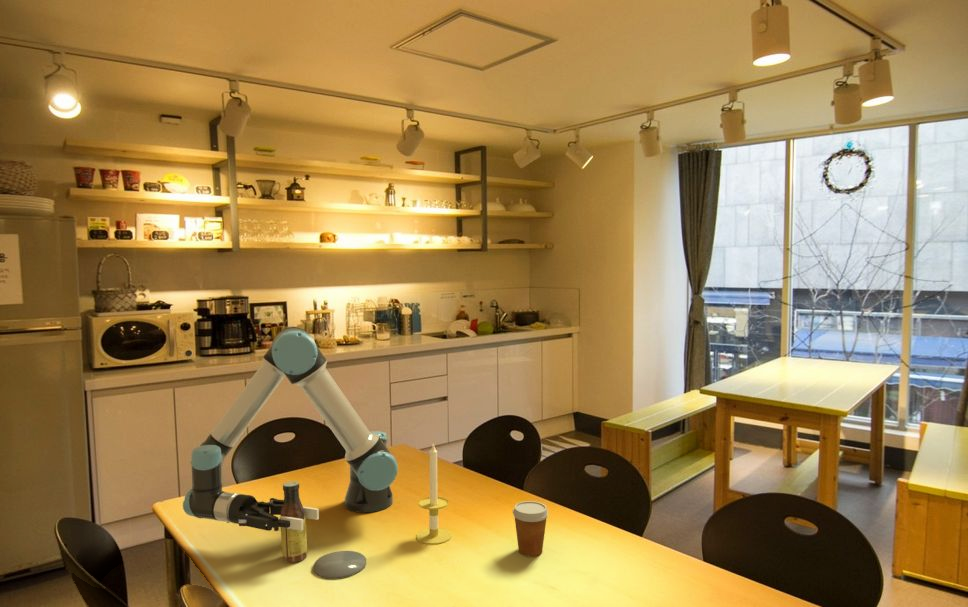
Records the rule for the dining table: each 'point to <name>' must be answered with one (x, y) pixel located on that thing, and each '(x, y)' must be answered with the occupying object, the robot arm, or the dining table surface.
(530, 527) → the disposable coffee cup
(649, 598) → the dining table surface
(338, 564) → the disc
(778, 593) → the dining table surface
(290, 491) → the sauce bottle
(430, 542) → the candle
